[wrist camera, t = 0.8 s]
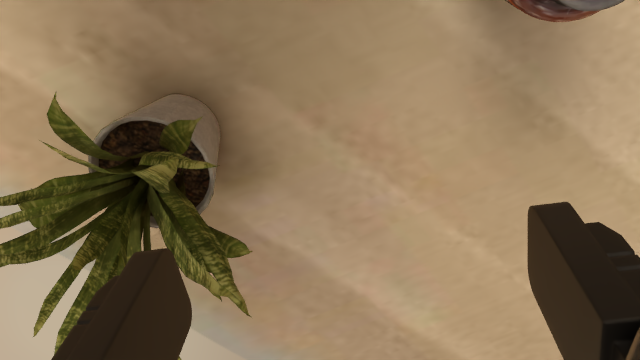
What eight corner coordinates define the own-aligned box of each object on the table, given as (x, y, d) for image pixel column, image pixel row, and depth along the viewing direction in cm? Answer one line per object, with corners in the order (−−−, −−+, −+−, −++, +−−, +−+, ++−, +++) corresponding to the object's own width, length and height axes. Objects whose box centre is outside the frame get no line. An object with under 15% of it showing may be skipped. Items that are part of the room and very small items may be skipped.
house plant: (105, 240, 39) (-33, 439, 25) (23, 59, 33) (-226, 186, 19) (292, 214, 38) (259, 412, 23) (243, 18, 31) (156, 123, 17)
